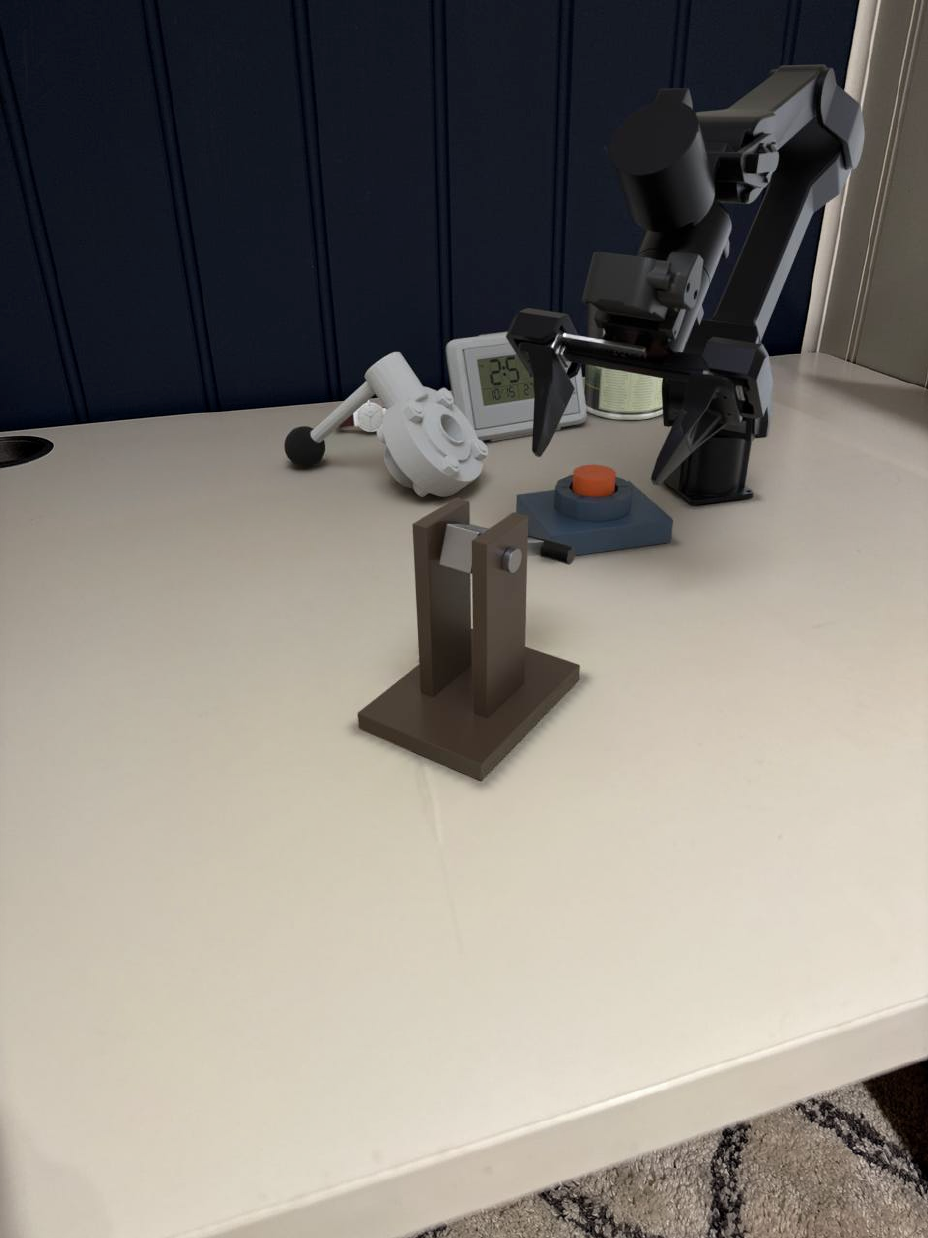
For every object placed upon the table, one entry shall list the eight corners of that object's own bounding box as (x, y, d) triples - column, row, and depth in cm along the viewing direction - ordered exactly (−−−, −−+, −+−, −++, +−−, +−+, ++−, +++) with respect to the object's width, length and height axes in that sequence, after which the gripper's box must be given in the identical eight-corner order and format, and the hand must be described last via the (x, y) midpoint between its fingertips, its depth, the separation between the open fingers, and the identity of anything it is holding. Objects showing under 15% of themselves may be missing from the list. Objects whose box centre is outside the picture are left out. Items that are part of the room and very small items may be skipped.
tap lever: (505, 555, 61) (513, 520, 60) (571, 573, 58) (579, 537, 58) (418, 558, 52) (426, 517, 51) (491, 580, 49) (500, 538, 49)
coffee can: (564, 407, 109) (569, 285, 102) (618, 389, 115) (627, 273, 108) (632, 426, 102) (642, 298, 95) (685, 407, 108) (699, 284, 101)
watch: (338, 437, 101) (335, 405, 99) (333, 424, 105) (331, 393, 103) (406, 431, 102) (404, 399, 100) (398, 418, 106) (397, 388, 104)
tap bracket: (466, 640, 64) (463, 470, 57) (579, 679, 59) (590, 500, 53) (358, 728, 55) (340, 540, 49) (481, 781, 51) (479, 583, 44)
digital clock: (456, 448, 97) (454, 349, 92) (439, 422, 105) (436, 329, 99) (597, 435, 100) (604, 338, 95) (571, 411, 108) (575, 319, 102)
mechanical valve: (457, 488, 80) (361, 346, 79) (336, 576, 91) (249, 452, 89) (505, 459, 88) (419, 330, 87) (389, 543, 99) (310, 429, 98)
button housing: (627, 502, 84) (630, 461, 82) (670, 542, 77) (675, 499, 75) (515, 516, 82) (516, 475, 80) (549, 559, 74) (551, 515, 72)
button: (604, 481, 79) (605, 462, 78) (621, 496, 76) (622, 477, 75) (566, 485, 78) (567, 467, 78) (581, 501, 75) (582, 482, 75)
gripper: (522, 187, 62) (436, 388, 60) (794, 211, 54) (704, 445, 52) (567, 283, 72) (494, 458, 70) (803, 316, 64) (727, 515, 62)
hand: (593, 467), depth 63 cm, fingers open, 9 cm apart
